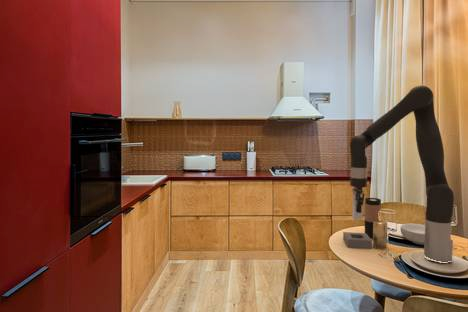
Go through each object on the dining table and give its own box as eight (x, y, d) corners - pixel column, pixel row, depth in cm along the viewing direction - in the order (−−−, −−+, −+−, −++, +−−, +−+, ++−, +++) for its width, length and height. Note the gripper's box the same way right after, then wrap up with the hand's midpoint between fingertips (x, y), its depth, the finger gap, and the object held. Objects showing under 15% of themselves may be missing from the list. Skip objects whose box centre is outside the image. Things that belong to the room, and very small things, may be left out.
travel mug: (361, 234, 162) (362, 198, 161) (373, 233, 164) (374, 197, 162) (370, 239, 155) (371, 201, 153) (383, 238, 156) (384, 200, 155)
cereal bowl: (420, 249, 140) (420, 235, 140) (392, 238, 156) (392, 224, 156) (448, 246, 145) (448, 231, 144) (418, 235, 161) (419, 222, 160)
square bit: (360, 217, 149) (361, 193, 148) (362, 220, 145) (363, 195, 144) (352, 217, 150) (352, 193, 149) (353, 219, 146) (354, 195, 145)
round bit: (384, 244, 147) (385, 220, 146) (388, 249, 141) (389, 224, 140) (371, 244, 148) (372, 220, 147) (374, 248, 142) (375, 223, 141)
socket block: (365, 240, 153) (365, 233, 152) (371, 248, 142) (372, 240, 142) (343, 239, 155) (343, 232, 154) (347, 247, 144) (347, 239, 143)
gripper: (370, 179, 138) (369, 215, 139) (363, 174, 152) (362, 208, 153) (353, 178, 139) (352, 214, 141) (347, 174, 153) (346, 207, 155)
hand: (357, 211), depth 147 cm, fingers closed on square bit, 4 cm apart
